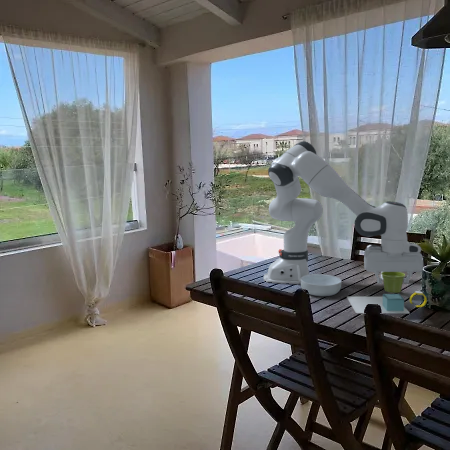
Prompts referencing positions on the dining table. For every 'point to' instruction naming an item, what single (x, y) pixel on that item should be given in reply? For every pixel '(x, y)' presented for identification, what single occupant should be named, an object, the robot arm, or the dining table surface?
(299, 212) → the robot arm
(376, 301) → the post base
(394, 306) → the teal square box
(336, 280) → the cereal bowl
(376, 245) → the medicine bottle
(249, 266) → the dining table surface
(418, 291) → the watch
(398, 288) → the plant pot
